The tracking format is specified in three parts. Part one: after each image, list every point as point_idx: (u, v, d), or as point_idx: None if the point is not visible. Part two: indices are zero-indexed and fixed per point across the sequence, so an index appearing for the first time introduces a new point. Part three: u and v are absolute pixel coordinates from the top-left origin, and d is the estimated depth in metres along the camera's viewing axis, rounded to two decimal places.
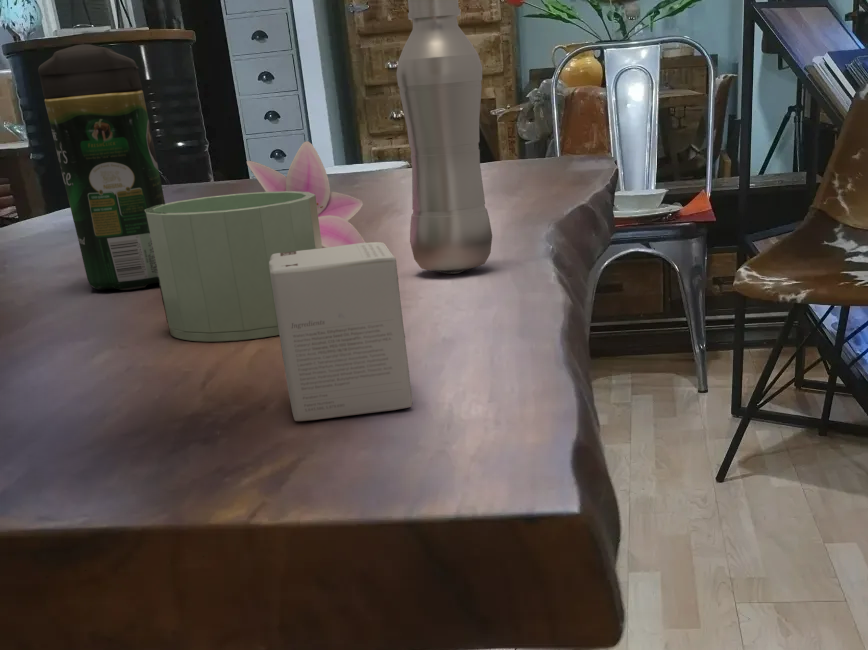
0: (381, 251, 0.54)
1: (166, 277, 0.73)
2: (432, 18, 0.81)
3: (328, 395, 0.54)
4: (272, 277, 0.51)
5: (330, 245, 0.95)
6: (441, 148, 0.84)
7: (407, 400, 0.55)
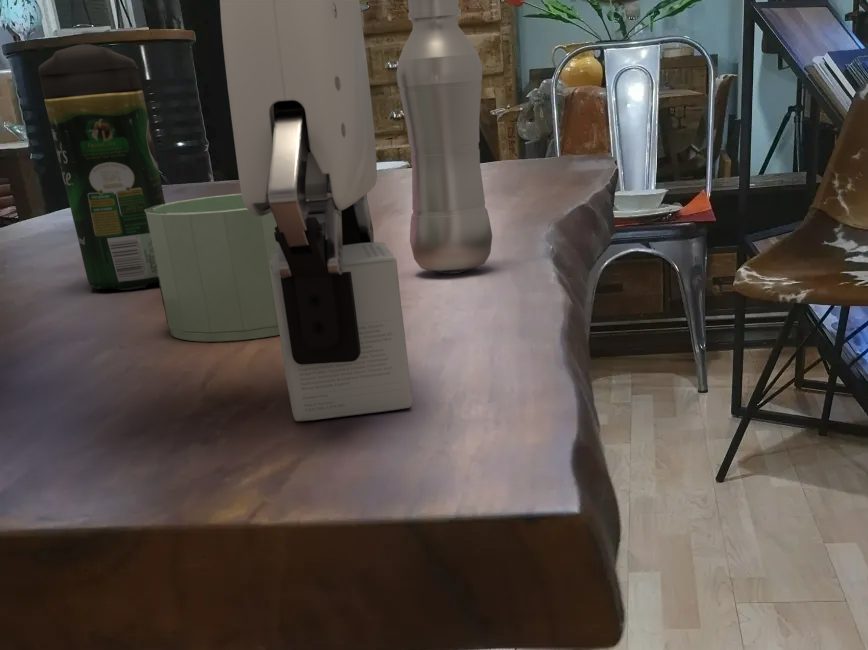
0: (381, 251, 0.53)
1: (166, 277, 0.73)
2: (432, 18, 0.81)
3: (328, 395, 0.54)
4: (272, 277, 0.51)
5: None
6: (441, 148, 0.84)
7: (407, 400, 0.55)
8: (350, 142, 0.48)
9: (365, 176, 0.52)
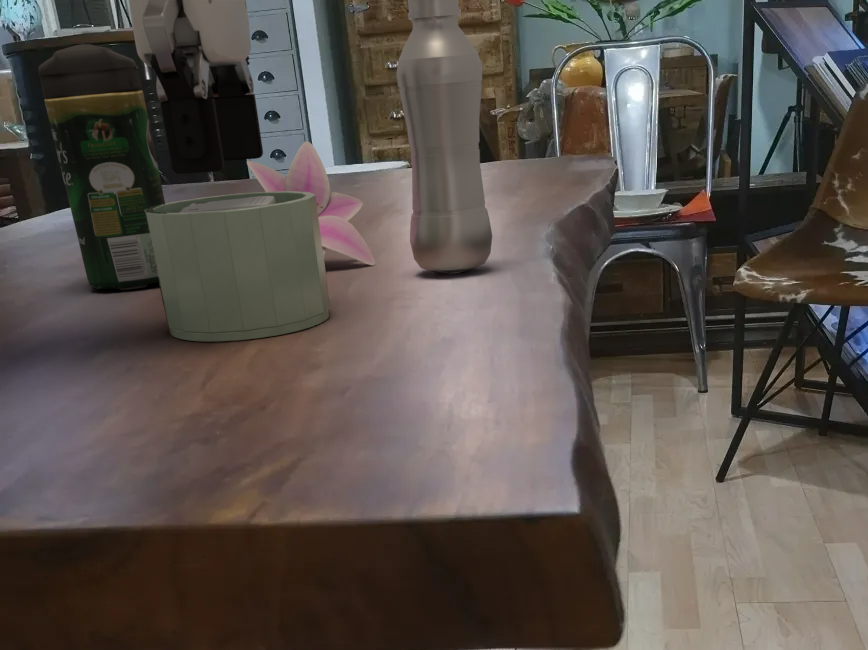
0: (262, 201, 0.73)
1: (166, 277, 0.73)
2: (432, 18, 0.81)
3: None
4: None
5: (330, 245, 0.95)
6: (441, 148, 0.84)
7: None
8: (216, 9, 0.66)
9: (234, 42, 0.69)
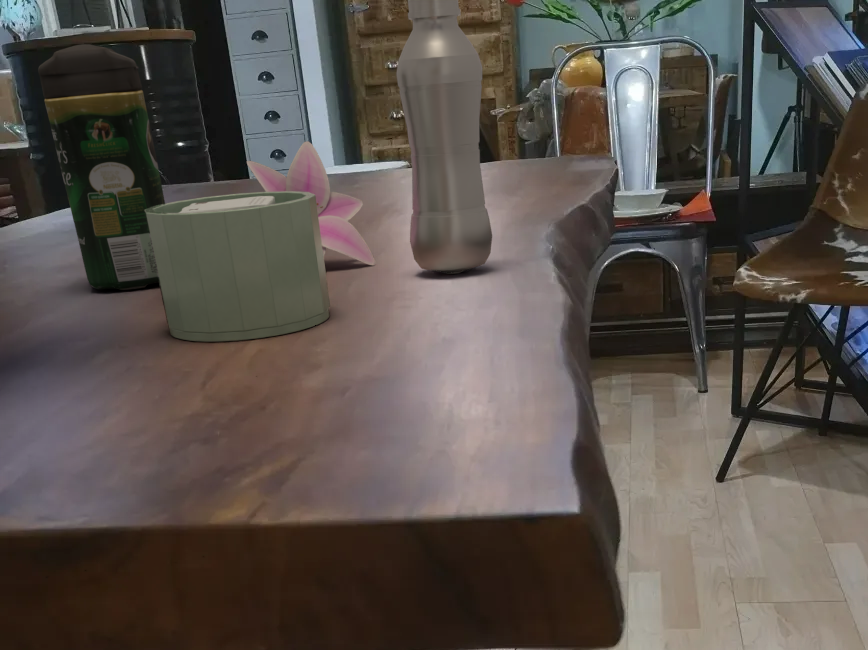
0: (262, 201, 0.73)
1: (166, 277, 0.73)
2: (432, 18, 0.81)
3: None
4: None
5: (330, 245, 0.95)
6: (441, 148, 0.84)
7: None
8: None
9: None
